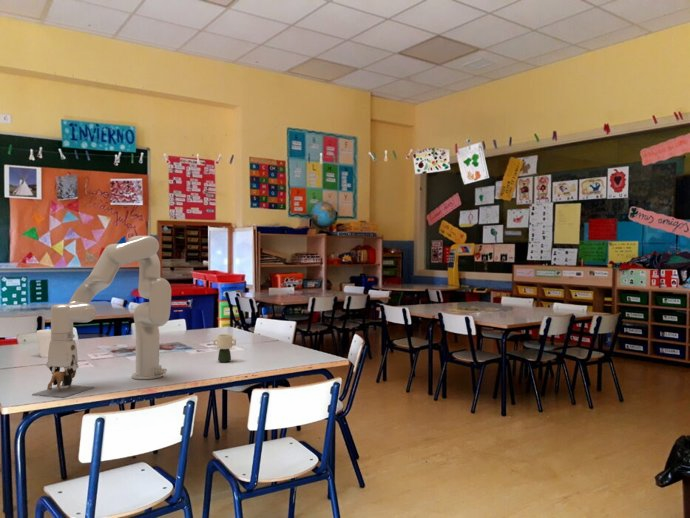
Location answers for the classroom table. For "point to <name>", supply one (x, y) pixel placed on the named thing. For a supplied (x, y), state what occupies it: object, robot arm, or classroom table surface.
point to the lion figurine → (59, 379)
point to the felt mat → (63, 391)
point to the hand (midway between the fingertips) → (62, 384)
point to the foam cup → (44, 341)
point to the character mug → (224, 346)
